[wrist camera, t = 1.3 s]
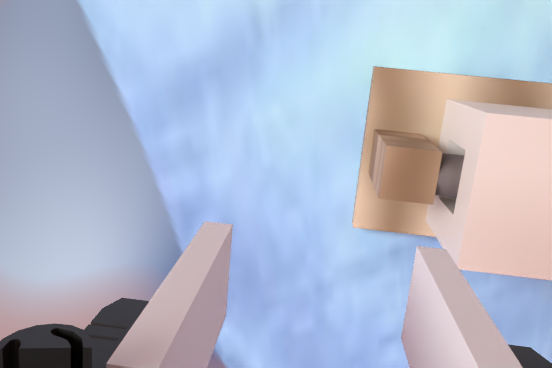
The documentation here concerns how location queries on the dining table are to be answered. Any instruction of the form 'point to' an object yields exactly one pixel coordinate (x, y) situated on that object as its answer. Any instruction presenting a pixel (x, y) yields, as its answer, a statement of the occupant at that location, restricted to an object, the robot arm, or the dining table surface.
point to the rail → (420, 142)
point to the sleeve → (497, 189)
